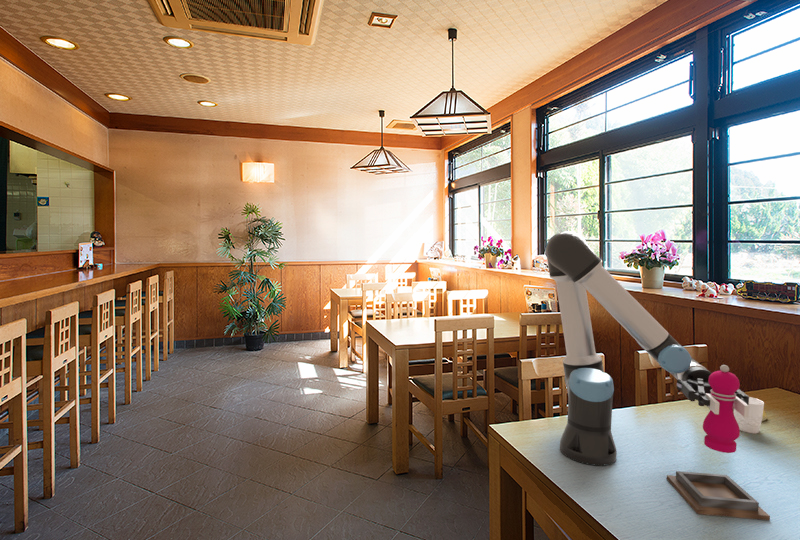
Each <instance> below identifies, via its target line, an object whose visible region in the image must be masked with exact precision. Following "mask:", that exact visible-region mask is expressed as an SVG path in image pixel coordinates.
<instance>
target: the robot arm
mask: <svg viewBox="0 0 800 540" xmlns="http://www.w3.org/2000/svg"><path fill="white" fill-rule="evenodd" d="M544 252H545V256H546V258H547V259H546V260H547V266H548V272H549V277H550V278H551V279H552V280H553V281H554V282H555V284H556V293H557V299H558V305H559V311H560V318H561V326H562V333H563V337H564V345H565V352H566V355H565V357H564V358H563V359H562V365H563V366H562V367H563V373H564V383H565V386H566V390H567V396H568V400H567V401H568V402H567V403H568V404H567V422H566V423H567V424H566V426H565V428H564V430H563V433H562V435H561V438H560V441H559V450H560V452H561V453H562V454H563V455H564V456H565V457H567V458H569V459H571V460H573V461H575V460H576V461H575V462H578V461H579V462H578V463H581V462H583V463H582V464H585V463H588V464H587V465H590V464H595V465H594V466H605V465H604V464H609V465H612V464H614V463H615V462H616V461H617V447H616V443H615V439H614V436H613V433H612V419H613V418H612V417H613V415H612V414H613V399H614V398H613V397H614V392H615V387H614V380H613V378H612V377H611V375H610V374H608V373H607V372H605V371H604V365H603V364H604V363H603V358H602V357H601V356H600V355H599V354H597V352H596V346H595V340H594V333H593V332H594V331H593V327H592V320H591V314H590V313H591V312H590V307H589V306H590V305H589V301H588V300H589V299H588V293H589V294H590V295H592V297H593V298H594V299H595V300H596V301H597V302H598V303H599V304H600V305H601V306H602V307H603V308H604V309H605V311H607V312H608V313H609V314H610V315H611V316H612V317H613V319H615V320H616V321H617V323H619V324H620V325H621V326H622V327H623V328H624V329H625V330H626V331H627V332H628V334H629V335H630V336H631V337H632V338H633V339H635V340H634V341H636V343H637V344H638V345H639V346H640V347H641V348H642V349H643V350H644V351H645V352H646V353H648V354H649V355H650V356H651V358H653V359H654V361H655V362H656V363H658V365H659V366H660V368H661V369H663V370H664V371H667V372H668V373H670V375H672V376H673V377H674V378H675V379H676V390H678V391H680V392H681V393H682V394H683V395H684V396H685V397H686V398H687V400H689V401H690V402H696V401H698V402H697V404H698V406H700V407H705V406H706V407H707V408H708V409H709V411H710V410H711V411H712V412H713V413H714V414H719V402H718V401H717V400H716V399H715V398H713V397H712V396H711V395H710V394H711V392H710V390H711V389H712V387H711V386H710V385H709V382H708V380H709V376H710V375H711V374H712V373H713V372H711V371H710V370H709V369H707V368H706V367H705V366H703V365H702V364H700V363H699V362H698V361H697V360H696V359H694V358H693V357H692V355H691V354H690V353H689V351H688V349H687V348H685V347H684V346H683V345H681V344H680V343H679V342H678V341H677V339H675V338H674V337H673V336H672V335H671V334H670V333H669V332H668V331H667V330H666V329H665V328H664V327H663V325H662V324H660V322H658V321H657V320H656V318H655V317H653V316H652V314H651V313H649V311H647V309H646V308H644V307H643V305H642V304H641V303H640V302H638V300H637V299H636V298H635V297H633V295H631V294H630V292H629V291H628V290H627V289H625V287H624V286H622V284H621V283H619V281H618V280H617V279H615V277H613V275H612V274H611V273H610V272H609V271H608V270H607V269H606V268H605V267H604V266H603V265H602V263H603V259H601V257H599V256H598V255H597V254H596V253H595V251H594V250H593V249H592V248H591V246H590V245H589V244H588V242H587V241H586V240H585V238H584V237H583V236H582V235H581V234H579V233H577V232H574V231H569V230H568V231H562V232H557V233H555V234H553V235H552V236H551V237H550V238H549V239H548V241H547V242H546V246H545V251H544ZM587 292H588V293H587ZM735 393H736V400H735V401H734V402H733V410H734V409H735V410H737V411H738V412H739V413H740V414H741V415H742V416H743V417H747V418H748V414H749V397H750V396H749V395H748V394H746V393H745V392H744V391H742V390H741V389H740V388H739V389H738V390H737V391H736V392H735ZM613 462H614V463H613ZM611 463H612V464H611Z"/></svg>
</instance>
